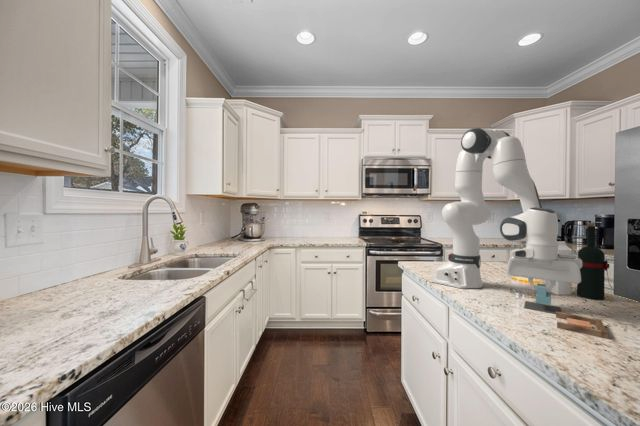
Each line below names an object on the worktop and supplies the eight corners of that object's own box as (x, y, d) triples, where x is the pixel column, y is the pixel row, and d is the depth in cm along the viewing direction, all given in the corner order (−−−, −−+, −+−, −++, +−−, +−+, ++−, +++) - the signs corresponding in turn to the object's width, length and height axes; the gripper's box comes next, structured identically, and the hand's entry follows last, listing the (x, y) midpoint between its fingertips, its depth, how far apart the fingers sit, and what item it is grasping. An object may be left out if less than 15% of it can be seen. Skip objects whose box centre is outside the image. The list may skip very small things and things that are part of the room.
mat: (523, 309, 95) (523, 308, 95) (525, 301, 102) (525, 300, 102) (561, 316, 88) (561, 315, 88) (560, 308, 96) (560, 307, 96)
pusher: (535, 302, 94) (535, 287, 94) (536, 297, 99) (536, 283, 99) (550, 305, 91) (551, 289, 91) (550, 300, 96) (550, 284, 96)
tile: (568, 329, 80) (568, 322, 80) (566, 324, 84) (566, 317, 83) (591, 334, 76) (592, 327, 76) (588, 328, 80) (589, 321, 80)
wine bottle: (613, 303, 102) (614, 224, 101) (576, 296, 109) (577, 223, 109) (612, 298, 107) (614, 223, 107) (577, 292, 114) (578, 222, 114)
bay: (557, 329, 79) (557, 322, 79) (555, 317, 87) (556, 311, 87) (607, 340, 72) (607, 332, 72) (600, 326, 81) (600, 319, 81)
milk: (545, 290, 117) (545, 240, 117) (558, 290, 117) (558, 240, 117) (558, 295, 111) (558, 242, 111) (572, 294, 111) (572, 242, 111)
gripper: (581, 254, 91) (581, 295, 91) (508, 249, 104) (508, 285, 104) (583, 257, 86) (583, 300, 86) (506, 251, 99) (506, 288, 99)
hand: (541, 291), depth 95 cm, fingers closed on pusher, 2 cm apart
